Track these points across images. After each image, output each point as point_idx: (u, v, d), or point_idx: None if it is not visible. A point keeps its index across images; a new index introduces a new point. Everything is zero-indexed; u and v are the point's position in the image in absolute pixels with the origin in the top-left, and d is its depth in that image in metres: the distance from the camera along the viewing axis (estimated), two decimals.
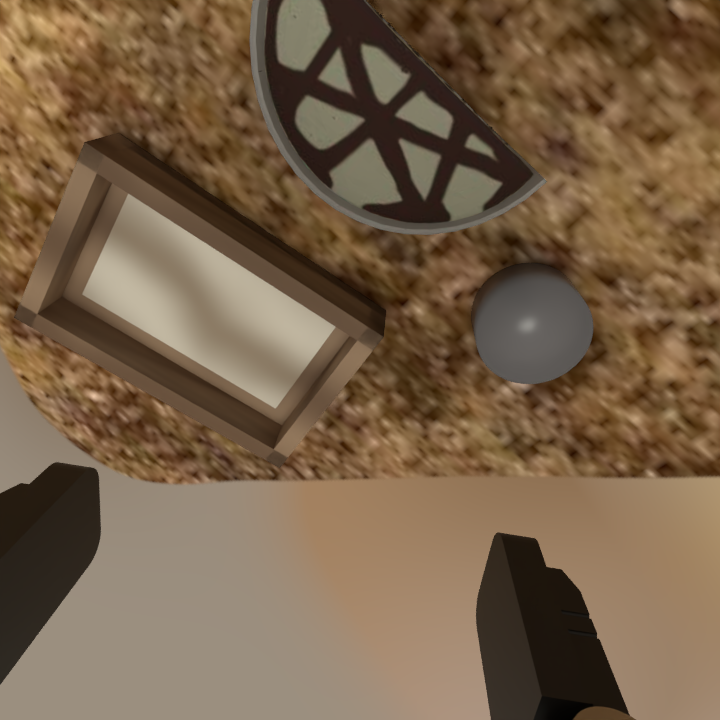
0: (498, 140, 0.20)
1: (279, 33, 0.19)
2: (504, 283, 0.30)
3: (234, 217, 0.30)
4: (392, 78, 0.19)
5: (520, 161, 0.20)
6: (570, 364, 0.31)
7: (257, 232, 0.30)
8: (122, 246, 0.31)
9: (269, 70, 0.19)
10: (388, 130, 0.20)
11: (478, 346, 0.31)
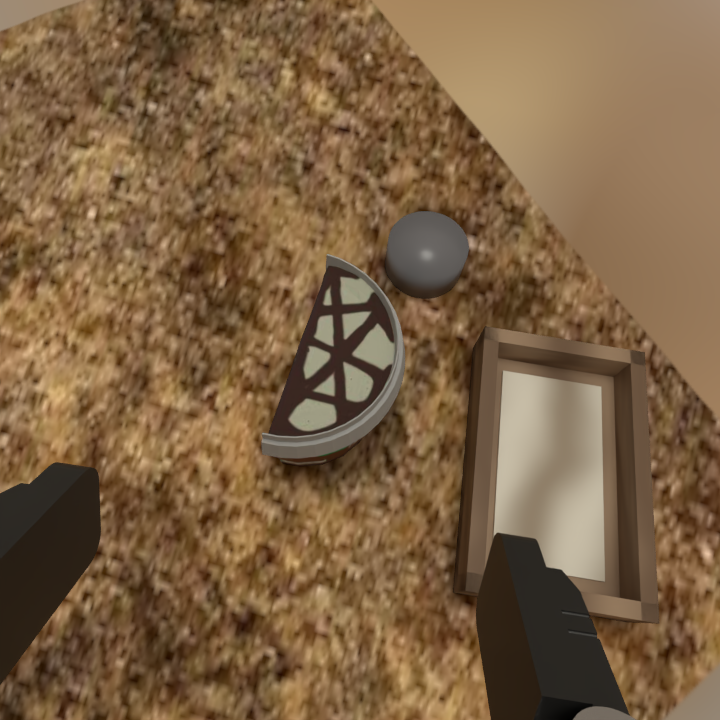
0: (320, 290, 0.33)
1: (320, 426, 0.30)
2: (407, 280, 0.42)
3: (465, 475, 0.37)
4: (315, 355, 0.31)
5: (325, 274, 0.33)
6: (434, 214, 0.43)
7: (467, 454, 0.38)
8: None
9: (343, 424, 0.30)
10: (343, 347, 0.32)
11: (456, 270, 0.41)
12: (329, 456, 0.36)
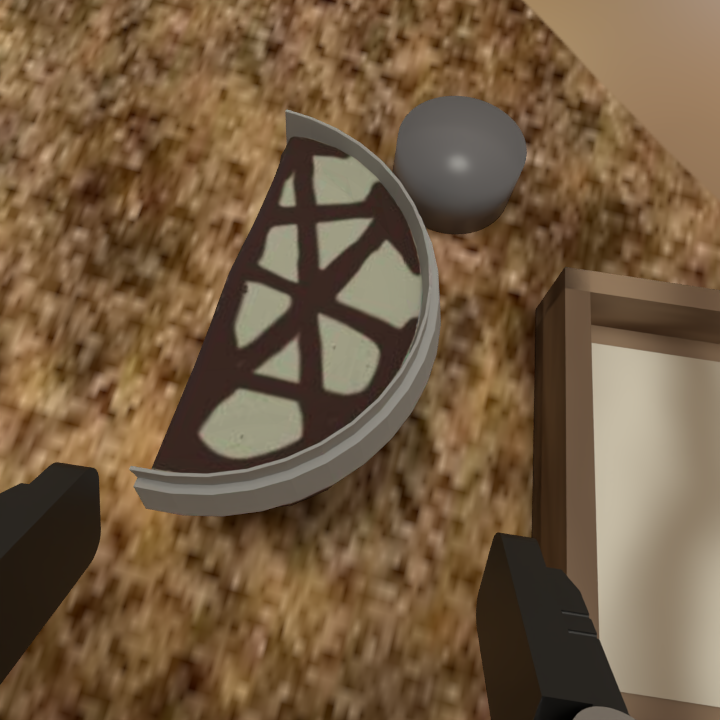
0: (274, 181, 0.17)
1: (268, 448, 0.14)
2: (429, 200, 0.26)
3: (540, 522, 0.21)
4: (260, 299, 0.15)
5: (284, 153, 0.17)
6: (469, 101, 0.27)
7: (540, 485, 0.22)
8: (684, 673, 0.19)
9: (316, 443, 0.14)
10: (317, 284, 0.16)
11: (508, 182, 0.26)
12: None
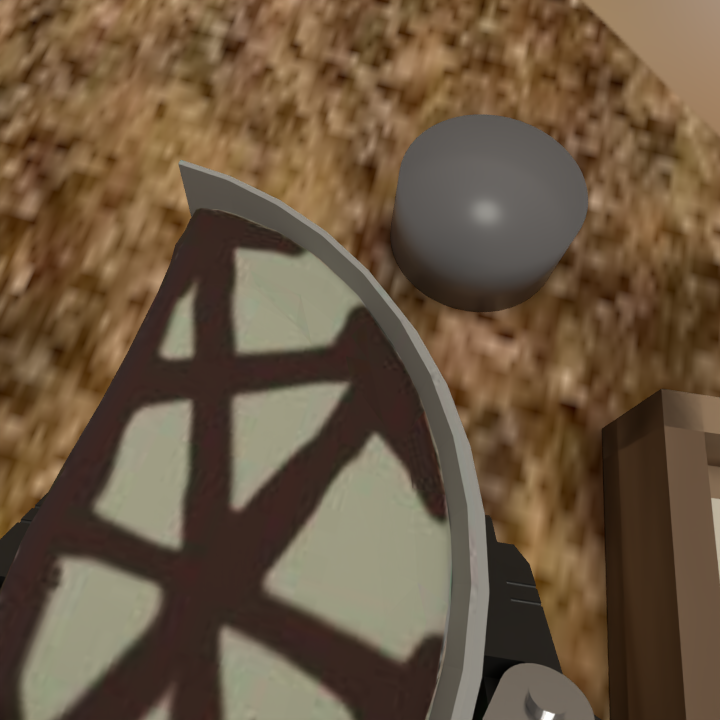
0: (155, 300, 0.09)
1: None
2: (445, 270, 0.18)
3: None
4: (88, 601, 0.07)
5: (180, 242, 0.09)
6: (503, 122, 0.19)
7: None
8: None
9: None
10: (224, 549, 0.07)
11: (563, 244, 0.17)
12: None
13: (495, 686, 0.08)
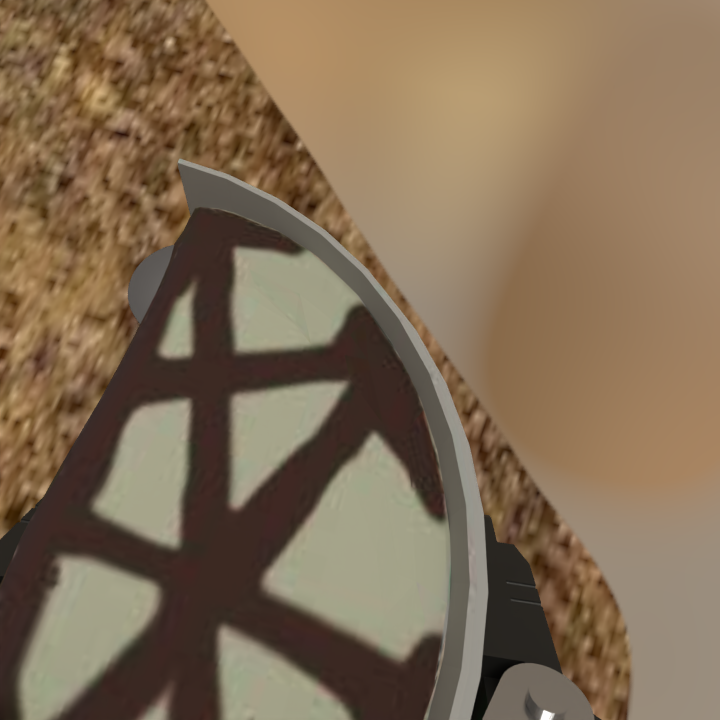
0: (154, 299, 0.09)
1: None
2: None
3: None
4: (85, 601, 0.07)
5: (179, 241, 0.09)
6: None
7: None
8: None
9: None
10: (223, 547, 0.07)
11: None
12: None
13: (495, 686, 0.08)
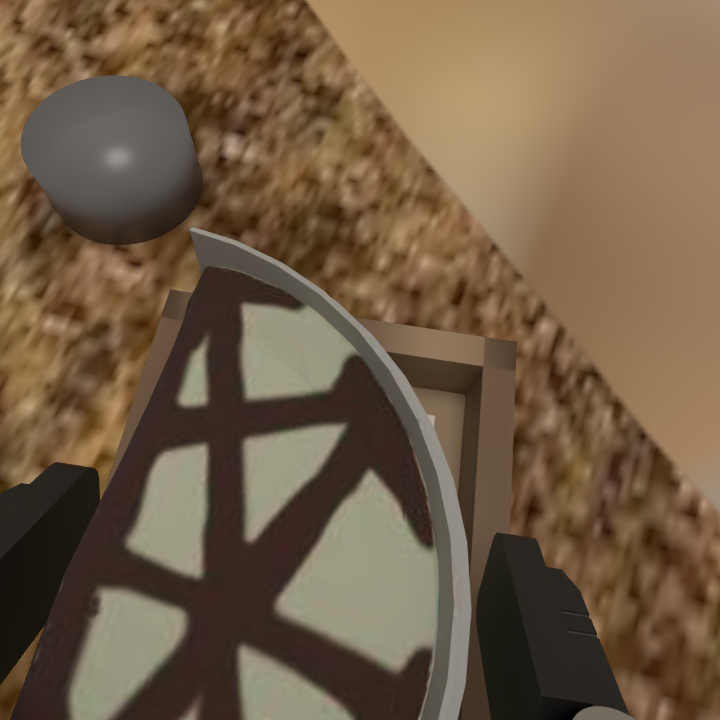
0: (172, 352, 0.10)
1: None
2: (61, 204, 0.21)
3: None
4: (123, 627, 0.08)
5: (192, 297, 0.10)
6: (132, 81, 0.22)
7: None
8: None
9: None
10: (240, 576, 0.08)
11: (148, 180, 0.20)
12: None
13: None
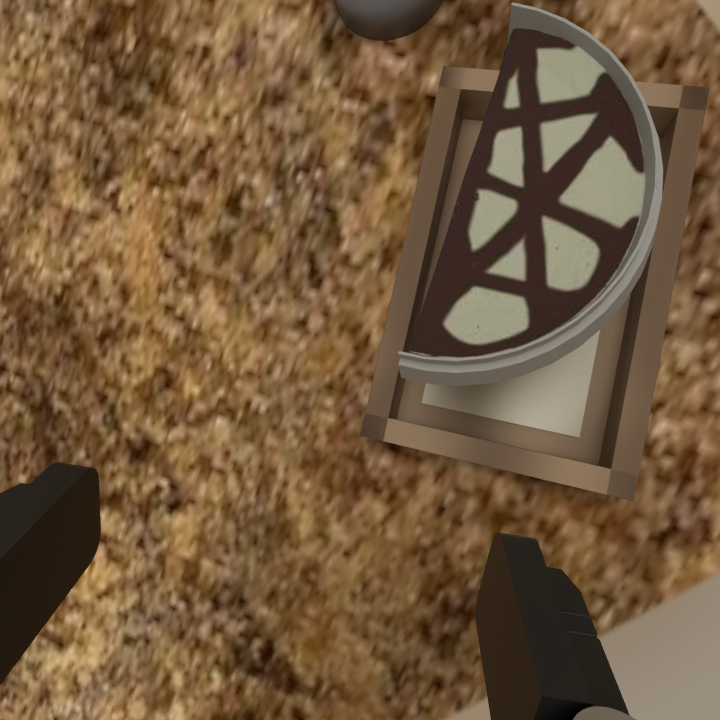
0: (497, 80, 0.18)
1: (500, 336, 0.17)
2: (352, 9, 0.29)
3: None
4: (490, 205, 0.17)
5: (507, 48, 0.18)
6: None
7: None
8: (488, 398, 0.26)
9: (541, 333, 0.17)
10: (541, 187, 0.17)
11: None
12: None
13: None
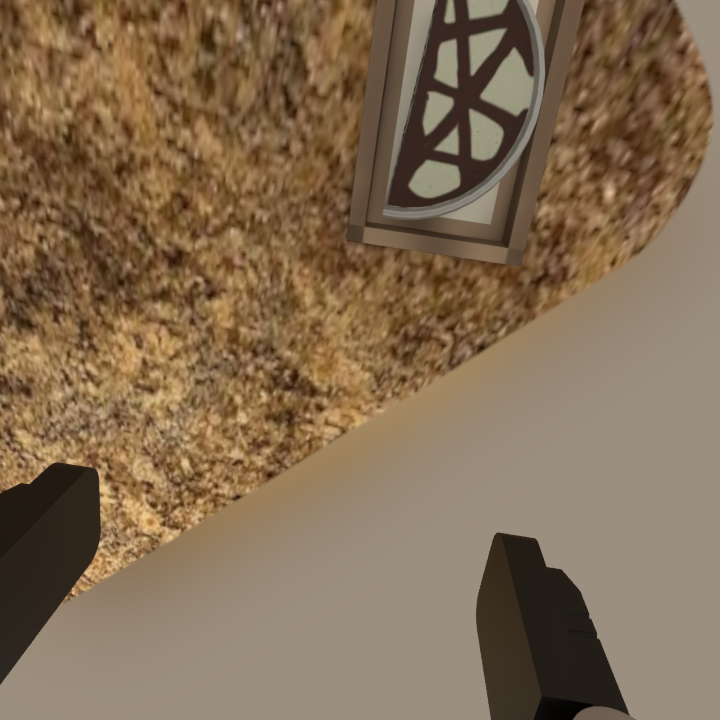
0: None
1: (443, 192, 0.28)
2: None
3: None
4: (436, 103, 0.26)
5: None
6: None
7: None
8: None
9: (467, 189, 0.28)
10: (469, 87, 0.26)
11: None
12: None
13: None
